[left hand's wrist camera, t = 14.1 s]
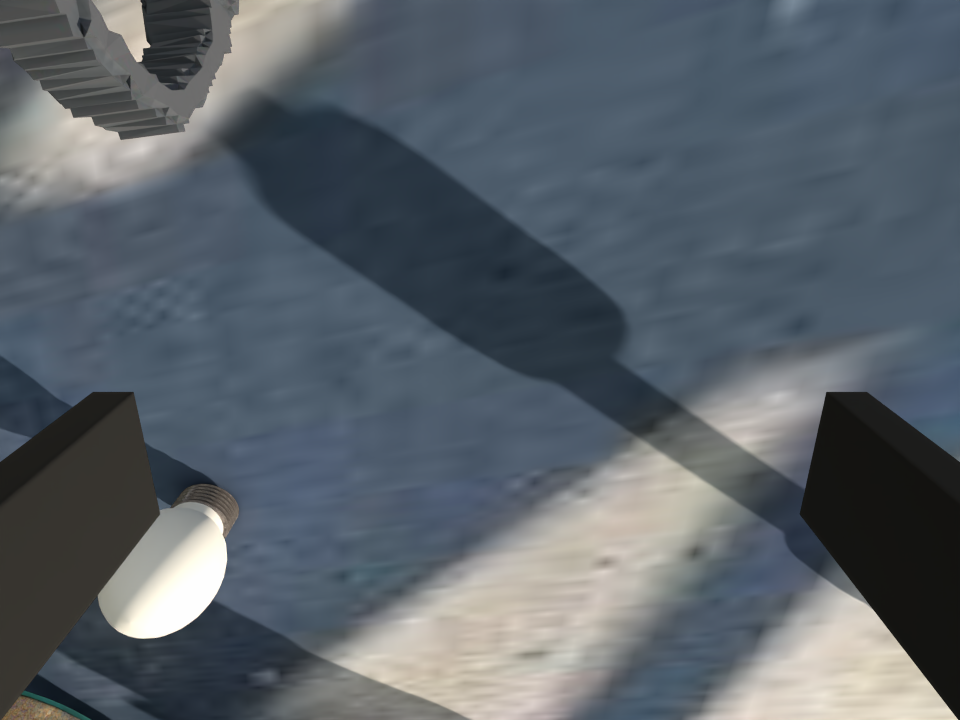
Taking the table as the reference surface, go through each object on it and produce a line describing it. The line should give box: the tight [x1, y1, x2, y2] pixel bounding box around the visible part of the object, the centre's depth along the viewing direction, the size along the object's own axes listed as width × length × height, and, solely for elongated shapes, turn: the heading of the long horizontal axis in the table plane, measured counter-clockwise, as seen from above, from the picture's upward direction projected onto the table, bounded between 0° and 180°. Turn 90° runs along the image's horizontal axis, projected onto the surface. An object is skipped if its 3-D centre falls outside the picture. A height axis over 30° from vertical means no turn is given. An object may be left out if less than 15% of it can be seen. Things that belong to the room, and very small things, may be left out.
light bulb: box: [98, 484, 239, 639], centre depth 41 cm, size 7×7×11 cm
